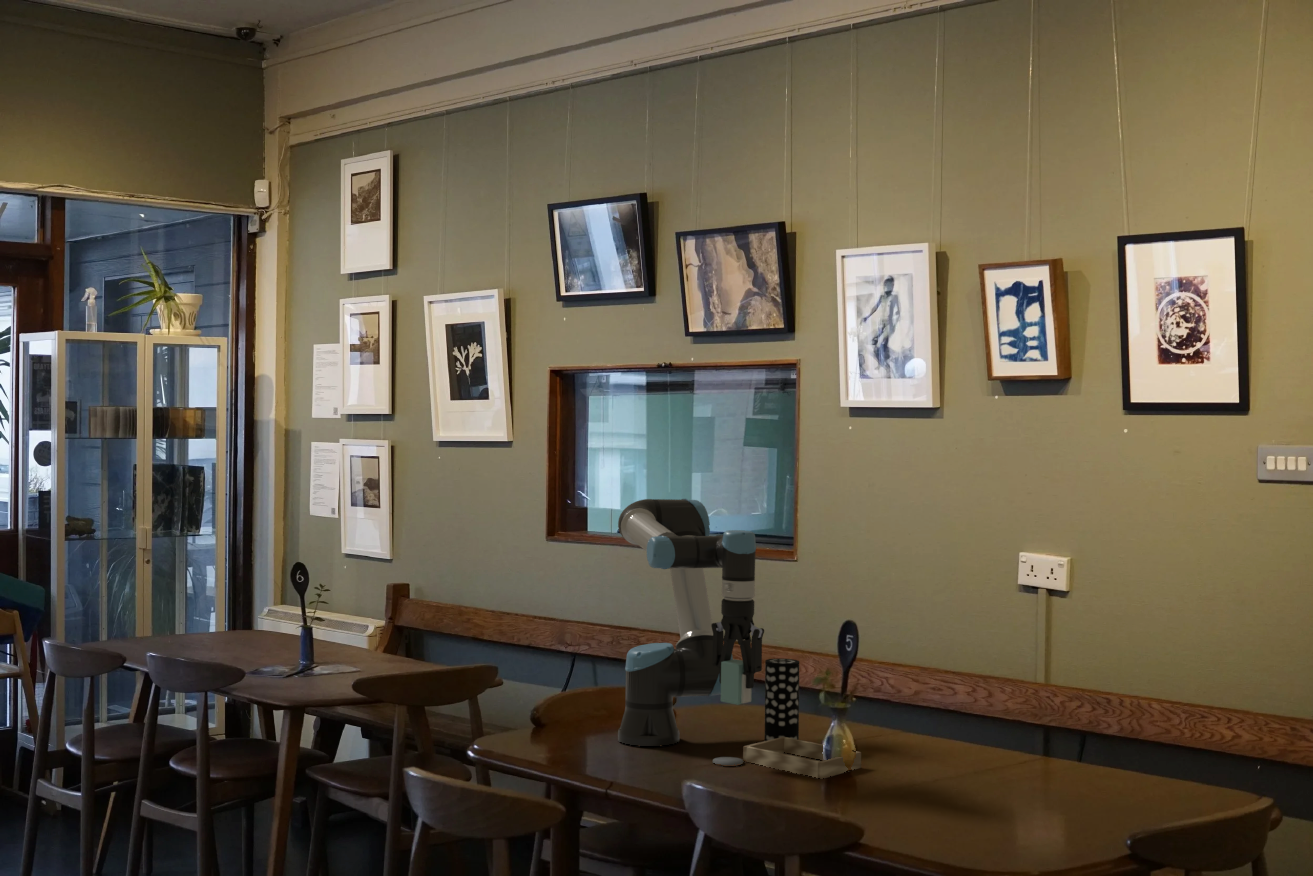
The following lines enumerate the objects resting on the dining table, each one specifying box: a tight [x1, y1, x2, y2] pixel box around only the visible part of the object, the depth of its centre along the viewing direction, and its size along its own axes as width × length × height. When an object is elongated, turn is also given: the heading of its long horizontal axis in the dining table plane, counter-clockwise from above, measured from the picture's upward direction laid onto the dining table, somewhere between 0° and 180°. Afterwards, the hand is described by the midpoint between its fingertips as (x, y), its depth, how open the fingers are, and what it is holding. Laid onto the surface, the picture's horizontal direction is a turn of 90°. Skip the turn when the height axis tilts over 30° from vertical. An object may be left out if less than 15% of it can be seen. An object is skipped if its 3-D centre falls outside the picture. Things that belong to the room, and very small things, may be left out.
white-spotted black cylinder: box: [764, 657, 800, 741], centre depth 306 cm, size 8×8×20 cm
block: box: [720, 658, 753, 706], centre depth 285 cm, size 5×5×9 cm
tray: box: [742, 737, 862, 780], centre depth 283 cm, size 22×15×4 cm
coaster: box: [712, 756, 745, 765], centre depth 284 cm, size 7×7×1 cm
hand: (736, 700), depth 285 cm, fingers closed on block, 5 cm apart
